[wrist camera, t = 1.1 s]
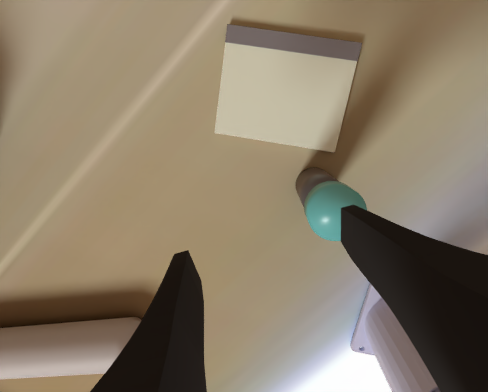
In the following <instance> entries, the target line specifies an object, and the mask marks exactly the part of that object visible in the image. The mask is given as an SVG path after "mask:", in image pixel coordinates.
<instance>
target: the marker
mask: <svg viewBox="0 0 488 392" xmlns="http://www.w3.org/2000/svg"><path fill="white" fill-rule="evenodd" d="M296 191H297V193H298V195H299V197H300V200H301V202H302V204H303V206H304V211H305V215H306V217H307V219H308V222H309V224H310V226H311V228H312V230H313V231H314V232H315V233H316V234H317V235H318V236H320V237H322V238H324V239H326V240H330V241H341V208H342V207H346V206H350V205H356V206H358V207H361V208H363V209H365V210H367V208H366V204H365V201H364V200H363V198H362V197H361V196H360V195H359V194H358V193H357V192H356V191H354V190H353V189H352V188H350V187H349V186H347V185H346V184H344V183H341V182H339V181H338V180H336V179H335V178H334V177H332V176H331V175H329V174H328V173H327V172H325V171H324V170H322V169H320V168H309V169H306V170H304V171H303V172H302V173H301V174H300V175H299V176H298V178H297V180H296Z"/></svg>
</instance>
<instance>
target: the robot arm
mask: <svg viewBox="0 0 488 392" xmlns="http://www.w3.org/2000/svg"><path fill="white" fill-rule="evenodd" d="M341 242H342V244H343V246H344V247H345V249H346V251H347V253H348V254H349V256H350V257H351V259H352V260H353V262H354V263H355V264H356V266H357V267H358V268H359V269H360V271H361V272H362V273H363V275H364V276H365V277H366V278H367V280H368V281H369V282H370V285H369V288H368V292H367V295H366V298H365V301H364V304H363V307H362V310H361V313H360V316H359V319H358V322H357V325H356V328H355V331H354V334H353V338H352V341H351V344H350V346H351V349H352V350H353V351H355V352H360V353H365V354H370V355H375V356H376V358H377V360H378V363H379V365H380V367H381V369H382V371H383V373H384V375H385V378H386V380H387V382H388V384H389V386H390V388H391V390H392V392H488V255H484V254H481V253H477V252H473V251H470V250H466V249H463V248H459V247H456V246H453V245H450V244H447V243H444V242H441V241H438V240H435V239H432V238H429V237H427V236H424V235H422V234H419V233H417V232H414V231H412V230H409V229H407V228H404V227H402V226H400V225H397V224H395V223H393V222H391V221H388V220H386V219H384V218H382V217H380V216H378V215H376V214H373V213H371V212H369V211H367V210H365V209H363V208H361V207H358V206H356V205H350V206H346V207H342V208H341ZM360 347H362V348H360ZM90 392H207V390H206V379H205V368H204V300H203V291H202V284H201V279H200V277H199V275H198V272H197V270H196V268H195V265H194V263H193V260H192V258H191V256H190V253H189V251H188V250H187V251H184V252H180V253H177V254H174V256H173V258H172V260H171V263H170V265H169V267H168V270H167V272H166V274H165V276H164V279H163V281H162V283H161V285H160V287H159V289H158V291H157V293H156V295H155V297H154V299H153V301H152V303H151V304H150V306H149V308H148V310H147V312H146V313H145V315H144V317H143V319H142V320H141V322H140V324H139V325H138V327H137V329H136V330H135V332H134V333H133V335H132V336H131V338H130V340H129V341H128V343H127V344H126V345H125V347H124V348H123V350H122V351H121V352H120V354H119V355H118V357H117V358H116V359H115V361H114V362H113V363H112V365H111V366H110V368H109V369H108V370H107V372H106V373H105V374H104V375H103V377H102V378H101V379H100V380H99V382H98V383H97V384H96V385H95V386H94V388H93V389H92V390H91V391H90Z"/></svg>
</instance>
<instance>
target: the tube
mask: <svg viewBox="0 0 488 392" xmlns="http://www.w3.org/2000/svg"><path fill="white" fill-rule="evenodd" d="M140 322H141V319H139V318H138V317H128V318H116V319H104V320H92V321H80V322H68V323H56V324H45V325H33V326H21V327H9V328H0V379H14V378H32V377H49V376H67V375H85V374H103V373H106V372H107V370H108V369H109V368H110V366H111V365H112V363H113V362H114V361H115V359H116V358H117V357H118V355H119V354H120V352H121V351H122V350H123V348H124V347H125V345H126V344H127V343H128V341H129V340H130V338H131V336H132V335H133V333H134V332H135V330H136V329H137V327H138V325H139V324H140Z"/></svg>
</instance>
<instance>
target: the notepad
mask: <svg viewBox="0 0 488 392" xmlns="http://www.w3.org/2000/svg"><path fill="white" fill-rule="evenodd" d="M225 42H226V43H225V51H224V59H223V67H222V76H221V84H220V92H219V100H218V108H217V117H216V125H215V133H218V134H225V135H231V136H237V137H243V138H249V139H255V140H261V141H267V142H273V143H280V144H286V145H292V146H298V147H304V148H310V149H316V150H322V151H329V152H335V149H336V145H337V141H338V137H339V133H340V129H341V125H342V121H343V117H344V113H345V109H346V105H347V101H348V97H349V93H350V89H351V85H352V81H353V76H354V72H355V68H356V64H357V61H358V58H359V54H360V50H361V46H362V43H359V42H352V41H345V40H337V39H330V38H323V37H316V36H309V35H302V34H294V33H287V32H280V31H273V30H266V29H259V28H251V27H244V26H237V25H230V24H227V32H226V40H225Z"/></svg>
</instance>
